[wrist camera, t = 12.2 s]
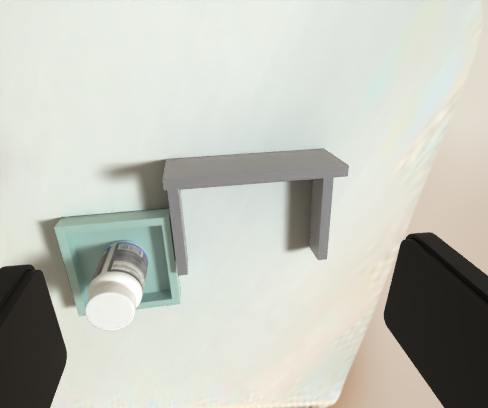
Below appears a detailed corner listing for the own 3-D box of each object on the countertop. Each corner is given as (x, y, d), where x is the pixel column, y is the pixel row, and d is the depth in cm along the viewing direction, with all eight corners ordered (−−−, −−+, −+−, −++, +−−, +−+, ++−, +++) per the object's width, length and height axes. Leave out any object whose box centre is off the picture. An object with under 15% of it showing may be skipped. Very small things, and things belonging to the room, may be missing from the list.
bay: (166, 159, 33) (162, 179, 28) (323, 148, 35) (348, 165, 30) (178, 259, 38) (177, 293, 32) (317, 245, 40) (337, 275, 34)
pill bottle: (117, 284, 37) (99, 342, 30) (93, 250, 35) (67, 304, 28) (157, 266, 37) (149, 321, 30) (135, 232, 35) (120, 281, 28)
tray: (61, 217, 34) (54, 227, 32) (170, 208, 35) (169, 217, 33) (84, 302, 38) (78, 316, 36) (180, 291, 40) (180, 303, 38)
